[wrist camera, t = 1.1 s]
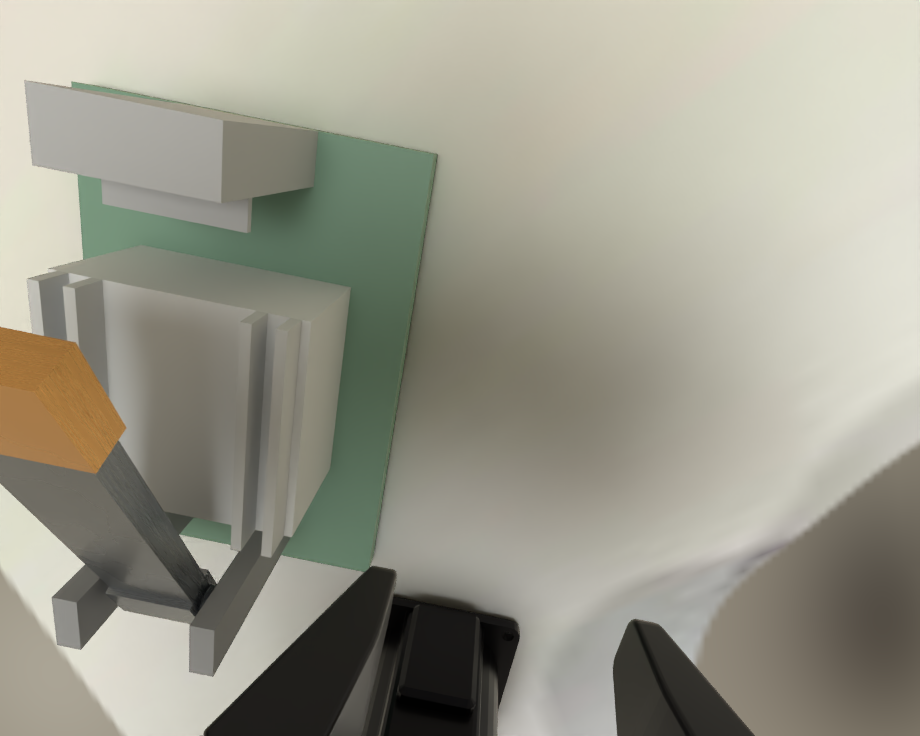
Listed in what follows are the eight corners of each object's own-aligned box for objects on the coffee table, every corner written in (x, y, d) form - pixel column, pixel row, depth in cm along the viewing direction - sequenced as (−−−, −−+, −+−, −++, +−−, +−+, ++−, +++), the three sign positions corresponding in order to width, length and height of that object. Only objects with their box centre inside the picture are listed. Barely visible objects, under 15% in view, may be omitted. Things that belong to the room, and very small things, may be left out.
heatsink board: (373, 556, 23) (318, 724, 16) (116, 503, 23) (-46, 650, 16) (437, 154, 17) (393, 155, 11) (94, 85, 17) (-172, 41, 11)
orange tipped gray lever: (229, 589, 18) (213, 628, 17) (133, 570, 18) (112, 607, 17) (83, 333, 9) (34, 392, 8) (-115, 293, 9) (-184, 347, 8)
